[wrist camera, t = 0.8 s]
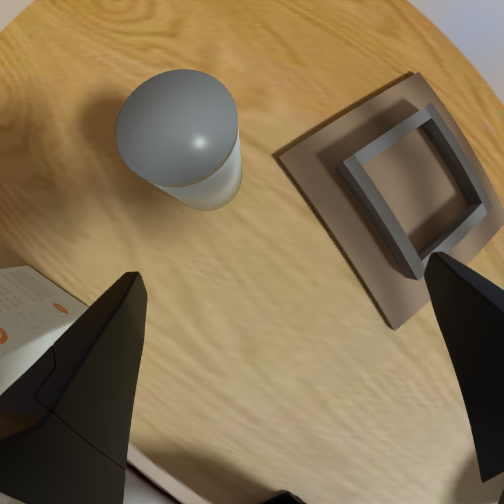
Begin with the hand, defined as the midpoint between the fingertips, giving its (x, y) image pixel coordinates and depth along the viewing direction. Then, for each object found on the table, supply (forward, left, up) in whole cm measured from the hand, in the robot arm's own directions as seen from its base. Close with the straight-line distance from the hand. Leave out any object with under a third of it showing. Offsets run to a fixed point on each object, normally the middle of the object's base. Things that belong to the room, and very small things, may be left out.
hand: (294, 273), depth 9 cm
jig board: (+13, -3, -14) cm, 19 cm away
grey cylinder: (0, +7, -14) cm, 16 cm away
